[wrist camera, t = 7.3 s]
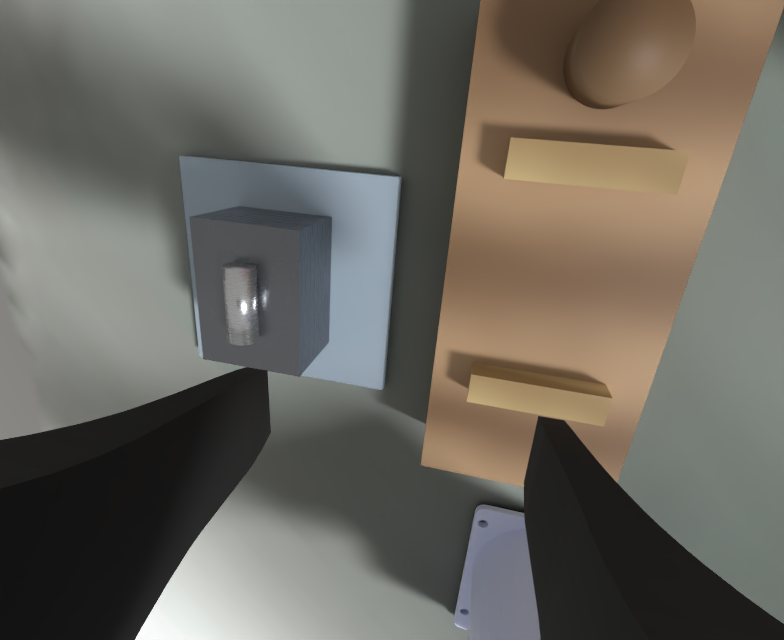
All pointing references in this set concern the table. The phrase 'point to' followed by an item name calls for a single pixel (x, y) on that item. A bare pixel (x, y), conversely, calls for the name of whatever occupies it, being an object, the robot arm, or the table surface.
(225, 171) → the rubber mat
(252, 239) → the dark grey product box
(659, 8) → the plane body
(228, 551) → the table surface
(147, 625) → the table surface
